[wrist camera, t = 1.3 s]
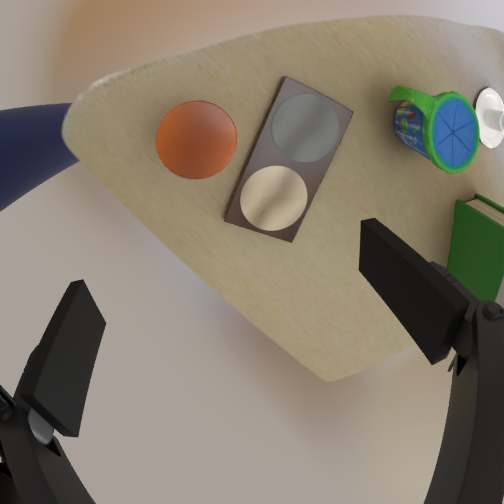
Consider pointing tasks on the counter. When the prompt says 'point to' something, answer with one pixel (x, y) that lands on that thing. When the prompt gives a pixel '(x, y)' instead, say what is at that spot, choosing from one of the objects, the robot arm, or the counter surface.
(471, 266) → the hardback book
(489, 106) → the candle holder
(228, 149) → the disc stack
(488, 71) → the counter surface
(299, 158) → the board
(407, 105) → the snack cup
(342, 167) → the counter surface
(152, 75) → the counter surface
